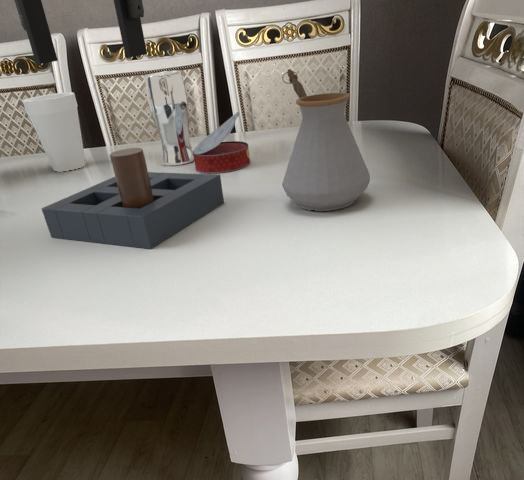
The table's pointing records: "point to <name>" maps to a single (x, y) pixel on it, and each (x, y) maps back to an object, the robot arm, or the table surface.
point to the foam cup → (58, 129)
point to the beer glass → (170, 115)
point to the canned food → (221, 151)
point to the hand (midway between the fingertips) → (89, 59)
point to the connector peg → (132, 177)
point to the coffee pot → (324, 154)
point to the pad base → (135, 210)
